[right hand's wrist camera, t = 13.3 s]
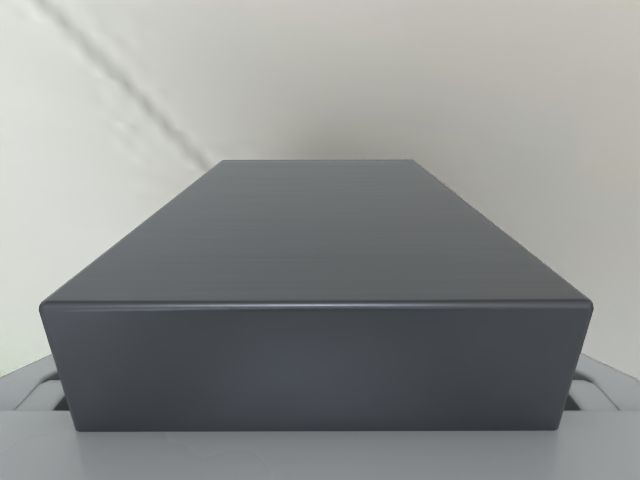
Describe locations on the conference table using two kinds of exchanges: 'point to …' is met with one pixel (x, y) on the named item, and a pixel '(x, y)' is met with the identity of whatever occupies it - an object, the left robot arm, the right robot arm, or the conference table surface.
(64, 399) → the right robot arm
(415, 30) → the conference table surface
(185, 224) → the bar
